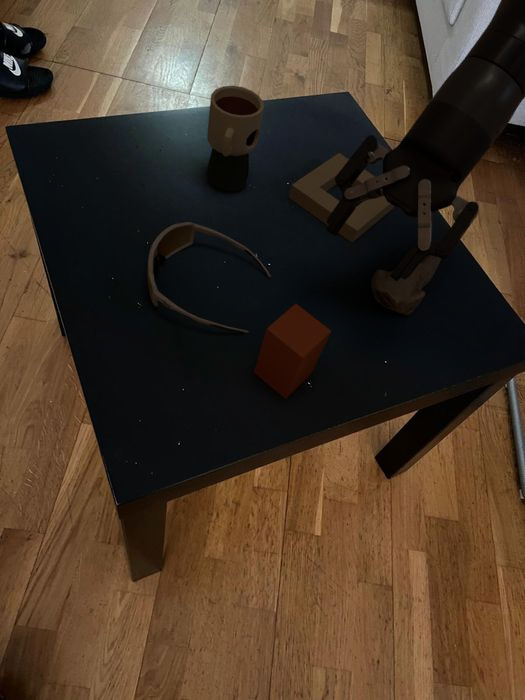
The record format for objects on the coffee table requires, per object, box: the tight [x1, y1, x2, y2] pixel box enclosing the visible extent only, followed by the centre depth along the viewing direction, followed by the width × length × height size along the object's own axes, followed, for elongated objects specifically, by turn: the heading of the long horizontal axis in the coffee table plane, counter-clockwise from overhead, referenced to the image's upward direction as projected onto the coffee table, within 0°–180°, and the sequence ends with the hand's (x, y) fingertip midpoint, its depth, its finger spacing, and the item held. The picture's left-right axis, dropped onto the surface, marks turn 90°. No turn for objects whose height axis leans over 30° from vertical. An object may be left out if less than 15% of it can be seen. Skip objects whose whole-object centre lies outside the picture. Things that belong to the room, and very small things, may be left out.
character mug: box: [205, 85, 265, 192], centre depth 76 cm, size 11×7×13 cm, turn 170°
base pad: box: [288, 152, 396, 244], centre depth 82 cm, size 12×12×2 cm
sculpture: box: [370, 255, 442, 316], centre depth 73 cm, size 7×5×15 cm
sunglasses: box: [146, 221, 272, 334], centre depth 68 cm, size 14×15×5 cm
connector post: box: [253, 303, 332, 400], centre depth 60 cm, size 5×5×9 cm
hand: (361, 255), depth 57 cm, fingers open, 8 cm apart
